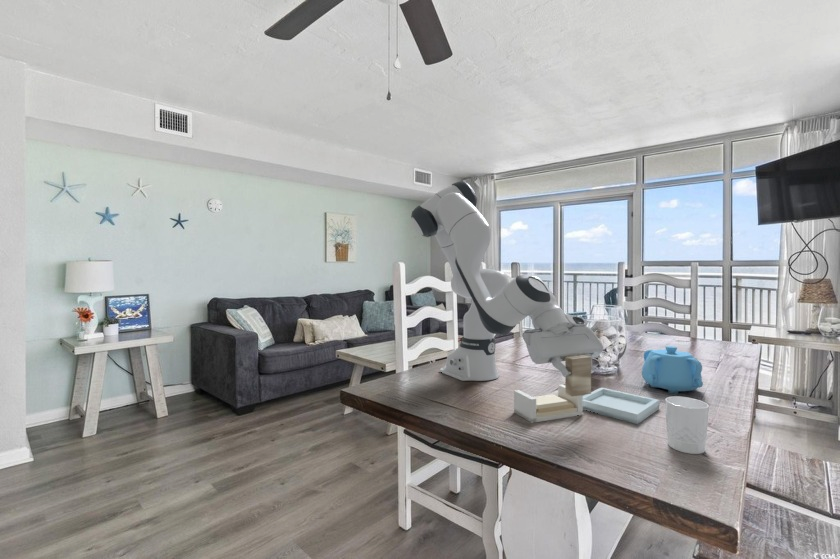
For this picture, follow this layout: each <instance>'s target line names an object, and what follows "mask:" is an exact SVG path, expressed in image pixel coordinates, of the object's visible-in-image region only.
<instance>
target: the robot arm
mask: <svg viewBox="0 0 840 559" xmlns="http://www.w3.org/2000/svg"><path fill="white" fill-rule="evenodd" d="M477 203H478V197H477V195H476V192H475V190H474V189H473V188H472V186H471V185H470V184H469V183H468V182H465V181H463V180H460V181H457V182H454V183H452V184H451V185H450V186H448V187H446V188H443V189H441V190H439V191H438V192H436V193H434V195H433V196H431V197H429V198H428V199H426V200H425V201H424V202H422V203H421V205H418V206H416V207H415V208H414V209H413V210H412V211H411V215H410V217H411V222H412V225H413V227H414V229H415V230H416V232H418V233H419V234H420V235H421V236H422V237H425V238H430V237H435V240H436V242H437V244H438V245H439V247H440V249H441V252H442V253H443V254H444V255H443V256H445V258H446V261H447V262H448V264H449V267H450V269H451V270H450V271H451V274H452V276H451V280H450V287H451V289H452V291H453V293H454V294H455V295H458V296H460V297H461V298H464V299H471V303H470V307H469V309H468V311H466V312H465V313H464V315H463V319H462V320H463V323H462V324H463V325H462V326H463V336H461V337H459V338H457V342H460V344H459V346H458V347H457V348H455V350H453V351H452V352H450V353H449V354H448V355H447V357H446V361H445V362H446V363H445V366H443V367H441V368H439V373H441V372H442V373H441V374H443V375H446V376H449V377H452V378H454V379H456V380H459V381H462V382H463V381H464V382H465V381H475V382H479V381H480V382H482V381H483V382H485V381H486V382H487V381H492V380H496V379H498V378H499V376H500V375H499V371H498V368H497V361H496V337H495V335H498V336H505V335H509V333H510V332H512V331H513V329H514V328H515V327H517V325H519V323H521V321H523V320H524V319H526V318H527V317H529V318H530V320H531V323H532V326H533V329H526V330H525V331H523V333H522V339H523V341H524V343H525V345H526V348H527V352H528V355H529V358H530V359H531V361H532V363H534V364H536V365H542V364H552V366H553V367H554V368H555V369H557V370H558V371H559V372H560V373H561V374H562V377H563V378H565V377H568V376H570V375H571V374H572V372H571V370H570V368H569V367H566V366H565V364H564V363H563V362H565V357H570V356H579V355H585V356H589V357H591V374H593V373H594V372H595V371H596V369H595V367H594V366H593V359H595V358H598V357H599V356H600V355H601V354H602V353H603V352H604V344H603V343H602V342H601V340H600V339H599V337H598V335H597V334H596V333H595V332H594V330H593V329H592V328H590V327H589V326H588V321H587V319H585V318H584V317H579V316H575V315H572V314H569V313H566V312H565V311H564V310H563V309H562V308H561V307H560V305H559V304H558V301H557V298H556V296H555V295H554V294H553V291H551V289H550V288H549V287H548V285H547V284H546V283H545V282H544V281H543V279H541V278H540V277H539V276H536V275H517V276H516V277H514V278H513V279H512V280H511V281H509V279H508V276H507V274H505V272H503V271H501V270H497V269H493V268H481V264H482V261H483V259H484V257H485V255H486V253H487V250H488V249H489V246H490V242H491V240H492V230H491V226H490V225H489V224H490V223H488V221H487V220H486V218H485V217H484V215H483V214H482V213H481V212H480V211H479V210H478V209H477Z"/></svg>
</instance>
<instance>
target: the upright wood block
mask: <svg viewBox="0 0 840 559" xmlns="http://www.w3.org/2000/svg"><path fill="white" fill-rule="evenodd" d="M564 365H565V366H566V367H569V368H570V370H571V372H572V374H571V375H570V376H568V377H564V379H565V381H564V382H565V384H564V385H565V390H566V394H568V395H570V396H572V397H573V396H580V395H583V396H584V395H586V394H591V392H592V373H591V357H589V356H585V355H579V356H570V357H565V361H564Z"/></svg>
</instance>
